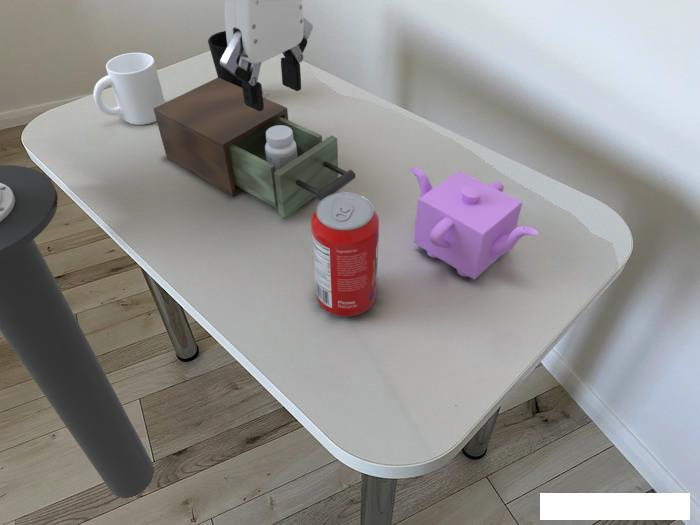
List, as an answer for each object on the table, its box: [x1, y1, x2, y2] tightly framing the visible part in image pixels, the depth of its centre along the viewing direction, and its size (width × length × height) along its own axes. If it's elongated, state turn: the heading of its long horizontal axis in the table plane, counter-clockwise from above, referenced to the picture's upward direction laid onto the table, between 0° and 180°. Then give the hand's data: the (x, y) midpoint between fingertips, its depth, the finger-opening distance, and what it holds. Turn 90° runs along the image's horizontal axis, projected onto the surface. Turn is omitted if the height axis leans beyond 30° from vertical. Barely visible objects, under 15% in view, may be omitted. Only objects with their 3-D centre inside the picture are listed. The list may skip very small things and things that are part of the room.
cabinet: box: [154, 77, 289, 197], centre depth 95 cm, size 17×14×10 cm
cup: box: [207, 30, 251, 88], centre depth 109 cm, size 8×8×12 cm
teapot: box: [410, 166, 539, 280], centre depth 78 cm, size 15×13×11 cm
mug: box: [93, 52, 166, 126], centre depth 105 cm, size 12×8×10 cm
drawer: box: [228, 117, 356, 219], centre depth 88 cm, size 21×12×8 cm, turn 51°
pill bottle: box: [265, 125, 297, 172], centre depth 88 cm, size 5×5×8 cm
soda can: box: [310, 191, 380, 317], centre depth 70 cm, size 8×8×15 cm
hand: (273, 96), depth 81 cm, fingers open, 6 cm apart
